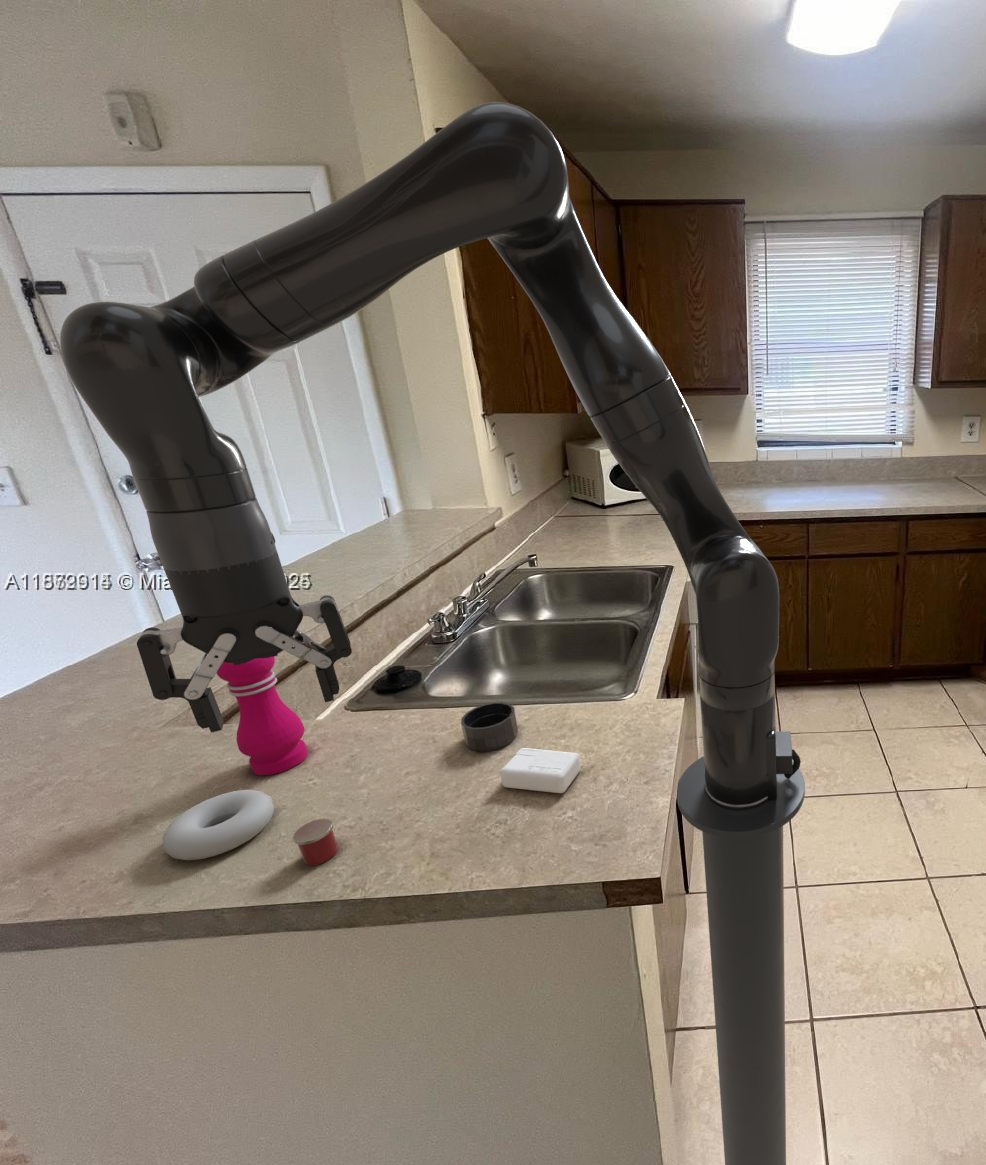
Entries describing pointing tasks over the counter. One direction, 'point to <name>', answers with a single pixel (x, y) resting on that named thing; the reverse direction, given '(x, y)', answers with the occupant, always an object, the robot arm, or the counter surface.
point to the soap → (541, 770)
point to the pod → (316, 841)
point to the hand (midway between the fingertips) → (276, 712)
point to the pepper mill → (264, 718)
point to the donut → (218, 825)
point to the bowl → (489, 726)
